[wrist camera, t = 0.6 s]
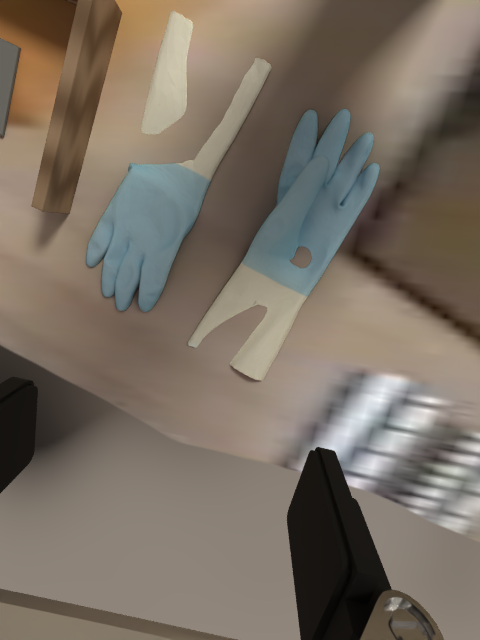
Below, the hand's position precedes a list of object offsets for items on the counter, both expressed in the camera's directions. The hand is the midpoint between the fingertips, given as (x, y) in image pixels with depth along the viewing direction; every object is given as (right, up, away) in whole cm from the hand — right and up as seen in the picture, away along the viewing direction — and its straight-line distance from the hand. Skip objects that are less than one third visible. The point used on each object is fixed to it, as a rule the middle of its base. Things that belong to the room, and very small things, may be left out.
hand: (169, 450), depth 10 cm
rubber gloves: (0, +16, +27) cm, 32 cm away
